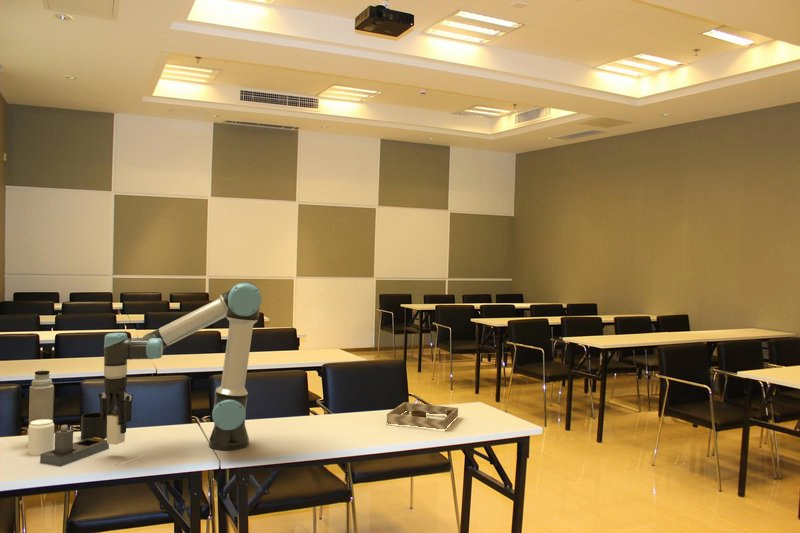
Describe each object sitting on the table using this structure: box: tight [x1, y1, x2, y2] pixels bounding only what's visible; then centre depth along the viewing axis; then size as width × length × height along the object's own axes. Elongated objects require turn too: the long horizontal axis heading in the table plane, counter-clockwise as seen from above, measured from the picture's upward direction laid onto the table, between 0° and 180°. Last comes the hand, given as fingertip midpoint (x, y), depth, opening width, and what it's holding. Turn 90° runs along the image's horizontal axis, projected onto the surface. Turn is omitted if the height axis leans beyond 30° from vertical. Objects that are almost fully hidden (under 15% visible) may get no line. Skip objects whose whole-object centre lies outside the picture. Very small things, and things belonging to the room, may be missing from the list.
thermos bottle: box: [28, 370, 55, 426], centre depth 242 cm, size 8×8×28 cm
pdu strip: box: [39, 437, 110, 467], centre depth 228 cm, size 22×9×5 cm, turn 162°
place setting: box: [410, 410, 452, 418], centre depth 295 cm, size 18×20×6 cm
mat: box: [114, 455, 139, 467], centre depth 228 cm, size 12×12×1 cm
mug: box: [80, 411, 107, 440], centre depth 254 cm, size 9×12×9 cm
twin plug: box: [54, 424, 74, 455], centre depth 223 cm, size 4×4×12 cm
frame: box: [386, 401, 459, 429], centre depth 296 cm, size 27×26×5 cm
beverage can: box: [27, 419, 55, 457], centre depth 231 cm, size 8×8×12 cm
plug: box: [106, 408, 123, 445], centre depth 228 cm, size 4×4×12 cm
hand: (115, 441), depth 228 cm, fingers closed on plug, 4 cm apart
